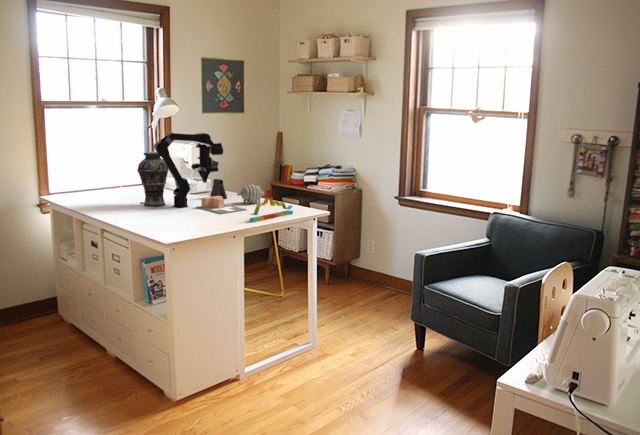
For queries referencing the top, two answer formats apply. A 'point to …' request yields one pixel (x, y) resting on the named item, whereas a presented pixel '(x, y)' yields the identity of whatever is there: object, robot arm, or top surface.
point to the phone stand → (218, 189)
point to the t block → (213, 202)
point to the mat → (223, 209)
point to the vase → (153, 179)
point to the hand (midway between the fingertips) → (204, 182)
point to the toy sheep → (251, 194)
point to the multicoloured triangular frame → (272, 203)
